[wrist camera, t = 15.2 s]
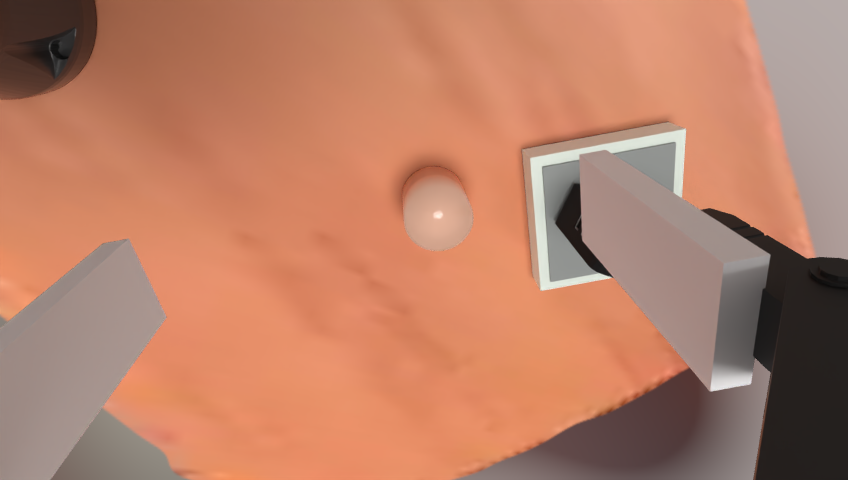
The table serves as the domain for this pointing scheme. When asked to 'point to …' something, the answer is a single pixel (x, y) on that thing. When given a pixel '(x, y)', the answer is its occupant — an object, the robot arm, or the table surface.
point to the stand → (560, 169)
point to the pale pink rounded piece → (436, 209)
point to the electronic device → (577, 229)
